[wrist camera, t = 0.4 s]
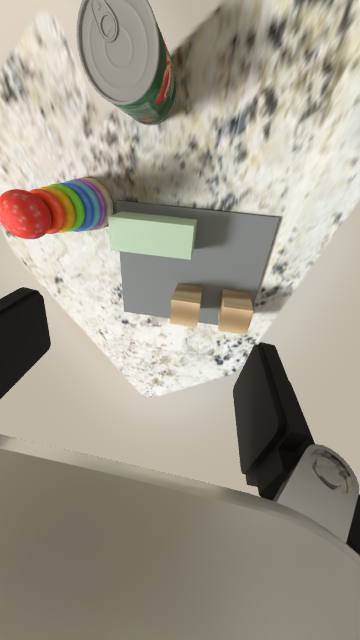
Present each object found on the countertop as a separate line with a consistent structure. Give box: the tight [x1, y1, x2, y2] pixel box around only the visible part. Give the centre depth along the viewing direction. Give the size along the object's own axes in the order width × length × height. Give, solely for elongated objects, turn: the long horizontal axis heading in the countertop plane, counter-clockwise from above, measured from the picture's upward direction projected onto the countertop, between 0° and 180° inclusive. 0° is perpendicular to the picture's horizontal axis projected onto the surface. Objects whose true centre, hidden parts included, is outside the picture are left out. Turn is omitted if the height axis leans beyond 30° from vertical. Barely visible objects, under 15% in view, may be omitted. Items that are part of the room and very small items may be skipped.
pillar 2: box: [219, 289, 254, 334], centre depth 41 cm, size 5×5×7 cm
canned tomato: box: [77, 0, 177, 125], centre depth 25 cm, size 8×8×11 cm
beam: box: [108, 211, 197, 260], centre depth 36 cm, size 5×13×6 cm, turn 86°
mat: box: [116, 200, 279, 325], centre depth 43 cm, size 22×27×1 cm
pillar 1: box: [170, 283, 202, 327], centre depth 42 cm, size 5×5×7 cm
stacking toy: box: [0, 177, 113, 239], centre depth 31 cm, size 8×8×19 cm
